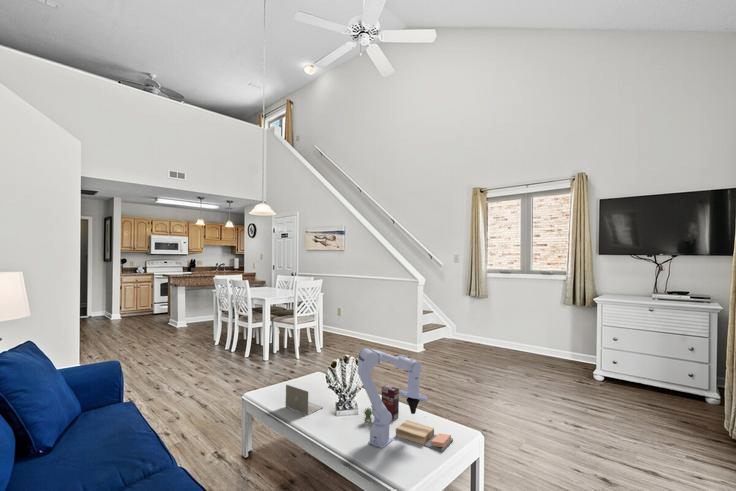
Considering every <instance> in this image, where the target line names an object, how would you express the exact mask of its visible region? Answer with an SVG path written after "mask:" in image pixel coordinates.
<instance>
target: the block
mask: <svg viewBox="0 0 736 491" xmlns="http://www.w3.org/2000/svg"><path fill="white" fill-rule="evenodd" d="M436 435H437V436H436V437H435V438H434V439H433V440H432V441H431V445H432V446H437V447H443V448H444V447H445V446H446V445H447V444H448V443H449V442H450V440H451V438H452V434H446V433H439V432H438V434H436Z"/></svg>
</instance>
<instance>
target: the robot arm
mask: <svg viewBox="0 0 736 491" xmlns="http://www.w3.org/2000/svg"><path fill="white" fill-rule="evenodd" d="M382 362H386V363H390V364H394V366H395V367H396V368H398V369H401V370H403V371H406V372H407V390H399V397H400V396H403V397H406V402H407V404H408V407H409V411H410V414H412V415H415V414H416V411H417V408H418V405H419V404H420V402H421V401H422V402H424V403H427V402H428V401H429V398H428V396H426V395H423V394H421V393H420V384H421V383H420V382H421V381H420V379H421V372H422V371H423V367H422V364H421V363H420V362H419V361H418V360H415V359H414V358H411V357H410V358H408V357H406V355H403V354H402V355H397V356H394V355H392V354H388V353H387V352H384V351H381V350H377V349H373V348H369V347H363V348H362V349H360V351H359V353H358V355H357V375H358V376H359V378H360V381H361V383H362V385H363V389H364V390H365V392H366V395H367V397H368V399H369V401H370V404H371V405H370V406H371V411H372V417H373V425H372V426H371V427H370V429H369V441H368V444H369V445H372V446H375V447H377V448H381V449H383V448H385V447H386V446H387V445H388V444H390V443H392V442H393V440H394V438H391V437H390V423H391V422H392V420H391V419H392V415H391V413H390V412H389V411H388V410H387V408H386V407H385V405H384V404H383V402H382V397H381V395H380V393H379V391H378V389H377V387H376V384H375V382H374V380H373V378H372V375H371V372H372V370H373V369H375V367H376V366H377V364H381V363H382Z"/></svg>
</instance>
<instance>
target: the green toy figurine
mask: <svg viewBox="0 0 736 491" xmlns="http://www.w3.org/2000/svg"><path fill="white" fill-rule="evenodd" d="M362 413H363V414H364V415H363V423H368V424H370V423H373V420H374V417H373V414H372V407H371V408H370V407H368V408H364V409H363V410H362Z"/></svg>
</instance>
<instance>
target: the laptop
mask: <svg viewBox="0 0 736 491" xmlns="http://www.w3.org/2000/svg"><path fill="white" fill-rule="evenodd" d="M285 407H286V408H287V409H290V410H293V411H295V412H298V413H301V414H303V415H306V416H310V415H311V414H314V413H316V412H317V411H319V410H322V409H323V408H324V406H321V405H318V404H316V403H313V402H310V401H309V391H307V390H304V389H302V388H298V387H295V386H292V385H289V384H285Z"/></svg>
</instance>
